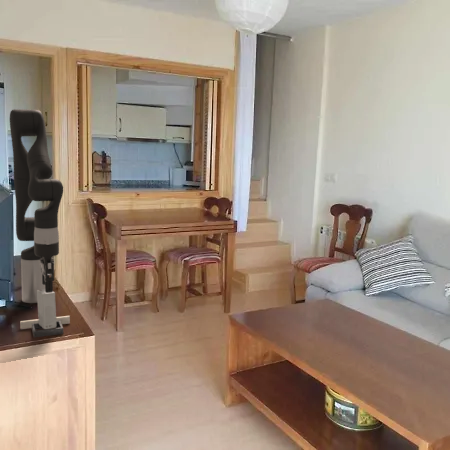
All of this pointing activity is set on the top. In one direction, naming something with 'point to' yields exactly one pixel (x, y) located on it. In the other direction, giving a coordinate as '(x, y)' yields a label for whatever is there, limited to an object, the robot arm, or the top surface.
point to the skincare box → (46, 309)
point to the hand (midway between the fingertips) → (47, 288)
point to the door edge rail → (29, 323)
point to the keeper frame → (47, 330)
